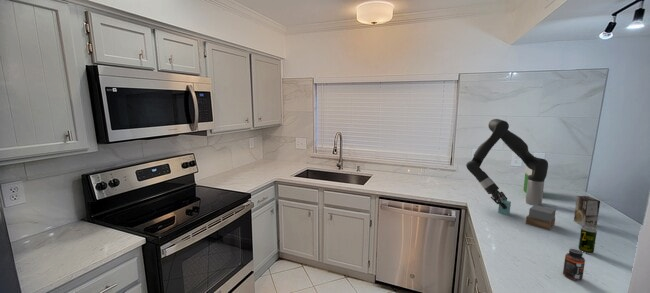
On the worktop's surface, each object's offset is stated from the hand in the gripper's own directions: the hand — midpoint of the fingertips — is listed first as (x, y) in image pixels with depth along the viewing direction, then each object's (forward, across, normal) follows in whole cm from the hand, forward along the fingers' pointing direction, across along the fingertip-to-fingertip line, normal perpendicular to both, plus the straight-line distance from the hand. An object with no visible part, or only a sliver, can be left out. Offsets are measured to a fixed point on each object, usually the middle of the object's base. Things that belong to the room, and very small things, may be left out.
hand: (507, 207), depth 175 cm
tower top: (+13, -3, -13) cm, 19 cm away
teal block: (+2, 0, +4) cm, 5 cm away
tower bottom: (+16, -3, -10) cm, 19 cm away
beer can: (+32, -22, -26) cm, 47 cm away
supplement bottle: (+33, -53, -27) cm, 68 cm away
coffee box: (+27, +18, -21) cm, 39 cm away
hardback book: (0, +61, +6) cm, 61 cm away
